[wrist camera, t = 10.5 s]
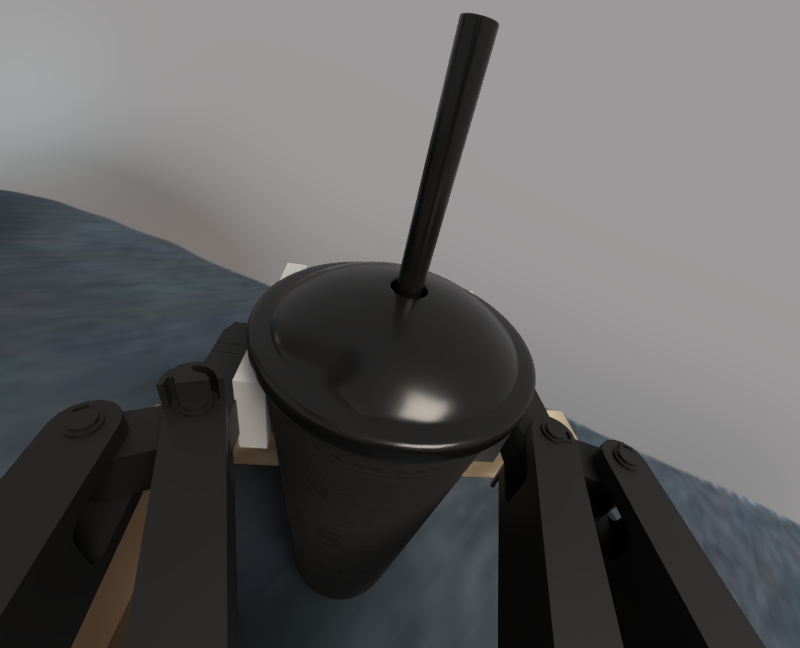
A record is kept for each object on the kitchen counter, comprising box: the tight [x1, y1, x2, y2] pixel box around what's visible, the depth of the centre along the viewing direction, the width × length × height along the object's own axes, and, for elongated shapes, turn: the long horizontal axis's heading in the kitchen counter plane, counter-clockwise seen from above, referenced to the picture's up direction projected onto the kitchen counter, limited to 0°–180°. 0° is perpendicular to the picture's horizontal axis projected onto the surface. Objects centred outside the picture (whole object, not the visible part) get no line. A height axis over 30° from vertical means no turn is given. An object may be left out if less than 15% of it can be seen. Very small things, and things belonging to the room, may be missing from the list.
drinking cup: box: [246, 13, 535, 599], centre depth 11 cm, size 8×8×20 cm
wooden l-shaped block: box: [71, 404, 578, 648], centre depth 17 cm, size 25×15×5 cm, turn 93°
